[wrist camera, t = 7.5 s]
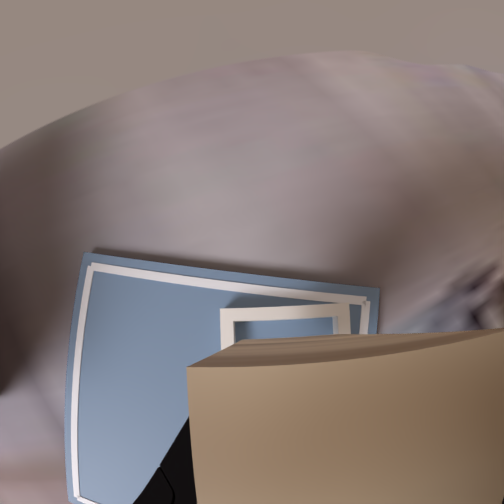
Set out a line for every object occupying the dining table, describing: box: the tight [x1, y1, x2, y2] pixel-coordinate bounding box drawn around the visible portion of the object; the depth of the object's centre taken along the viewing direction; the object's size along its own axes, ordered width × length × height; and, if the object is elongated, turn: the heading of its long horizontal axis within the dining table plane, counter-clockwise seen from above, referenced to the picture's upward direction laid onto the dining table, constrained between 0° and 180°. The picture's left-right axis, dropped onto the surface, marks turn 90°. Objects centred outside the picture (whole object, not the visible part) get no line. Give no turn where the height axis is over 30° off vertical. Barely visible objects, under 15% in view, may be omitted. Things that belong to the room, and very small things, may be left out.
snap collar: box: [220, 303, 351, 350], centre depth 19 cm, size 8×8×2 cm
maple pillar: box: [186, 328, 504, 504], centre depth 9 cm, size 4×4×12 cm
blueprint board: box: [65, 252, 380, 504], centre depth 20 cm, size 22×22×1 cm
